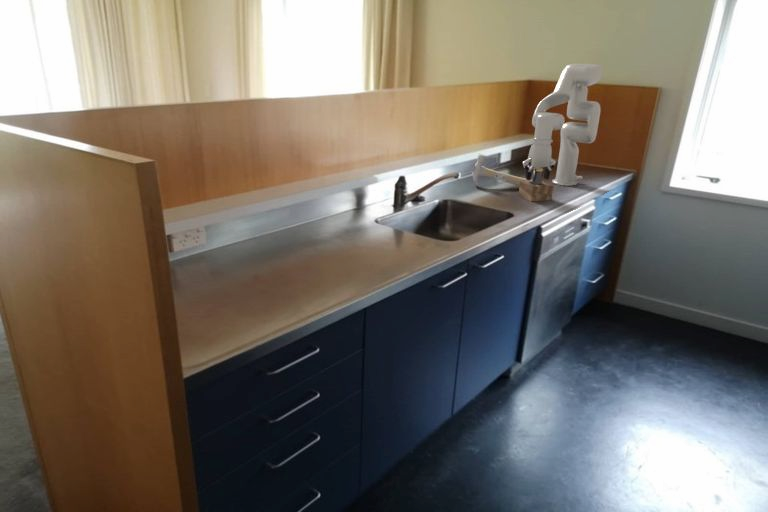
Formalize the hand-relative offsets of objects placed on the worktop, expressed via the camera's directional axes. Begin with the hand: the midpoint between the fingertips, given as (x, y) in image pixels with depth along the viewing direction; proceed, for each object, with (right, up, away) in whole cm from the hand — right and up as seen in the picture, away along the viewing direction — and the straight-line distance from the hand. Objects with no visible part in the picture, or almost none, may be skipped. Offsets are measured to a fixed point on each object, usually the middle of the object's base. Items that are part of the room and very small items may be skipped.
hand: (537, 179), depth 249 cm
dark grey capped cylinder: (0, -8, +3) cm, 9 cm away
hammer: (-12, -1, +21) cm, 25 cm away
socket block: (0, -8, +3) cm, 9 cm away
